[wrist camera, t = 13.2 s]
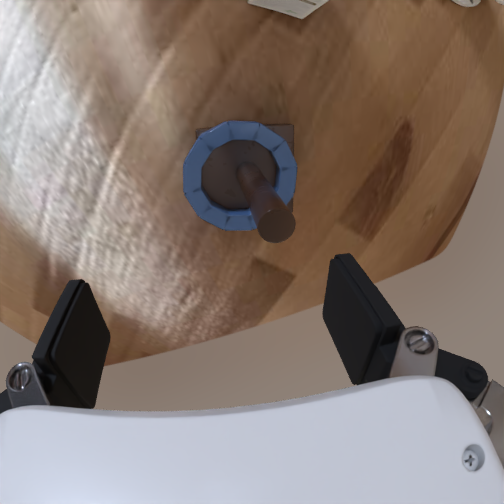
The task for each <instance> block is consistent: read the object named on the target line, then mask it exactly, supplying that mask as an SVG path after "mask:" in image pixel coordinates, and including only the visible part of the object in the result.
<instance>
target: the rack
mask: <svg viewBox="0 0 504 504" xmlns="http://www.w3.org/2000/svg"><path fill="white" fill-rule="evenodd" d="M263 125H264V126H266V127H267V128H269V129H270V130H272V131H273V132H275V133H276V134H278V135H279V136H281V137H282V138H284V140H285V141H286V142H287V144H288V146H289V148H290V150H291V152H292V155H293V157H294V125H292V124H263ZM211 128H213V127H210V128H200V129H196V140H197V138H198V137H199V136H200V135H201V134H202V133H204V132H206V131H208V130H210V129H211ZM275 177H276V164H275V162H274V160H273V158H272V156H271V154H270V152H269V150H268V149H267V148H265V147H263V146H262V145H260V144H259V143H257V142H256V141H254V140H231V141H229V142H227V143H225V144H223V145H221V146H220V147H218V148H216V149H214V150H213V151H212V152H211V154H210V155H209V157H208V159H207V160H206V162H205V163H204V165H203V167H202V176H201V184H202V186H203V188H204V189H205V191H206V192H207V194H208V196H209V197H210V199H211V200H212V201H214V202H215V203H217V204H219V205H221V206H223V207H225V208H227V209H248V208H249V209H250V212H251V214H252V217H253V219H254V222H255V224H256V227H257V229H258V232H259V234H260V236H261V237H262V238H263V239H264V240H265V241H267V242H271V243H280V242H283V241H285V240H286V239H288V238H289V237H290V236H291V235H292V233H293V232H294V229H295V218H294V216H293V215H292V212H293V197H292V198H291V200H290V201H289V202H288V204H287V205H285V203H284V202H283V201H282V199H281V198H280V197H279V195H278V194H277V192H276V191H275V190H274V188H273V186H274V185H275ZM204 221H205V220H204Z"/></svg>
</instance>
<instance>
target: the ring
mask: <svg viewBox="0 0 504 504" xmlns="http://www.w3.org/2000/svg"><path fill="white" fill-rule="evenodd" d="M231 140H254V141H256V142H257V143H259V144H260V145H262V146H263V147H265V148H267V149H268V150H269V152H270V154H271V156H272V158H273V160H274V162H275V164H276V177H275V185H274V186H273V188H274V190H275V191H276V192H277V194H278V195H279V197H280V198H281V199H282V201H283V202H284V203H285V205H287V204H288V202H289V201H290V200H291V198H292V197H293V195H294V194H293V193H295V184H296V176H297V163H296V161H295V159H294V157H293V155H292V152H291V150H290V148H289V146H288V144H287V142H286V141H285V140H284V138H282V137H281V136H279V135H278V134H276V133H275V132H273V131H272V130H270V129H269V128H267V127H266V126H264V125H263V124H261V123H258V122H255V121H228V122H227V121H225V122H223V123H221V124H219V125H217V126H215V127H213V128H211V129H210V130H208V131H206V132H204V133H202V134H201V135H200V136H199V137H198V138H197V140H196V142H195V143H194V145H193V147H192V148H191V150H190V152H189V153H188V155H187V157H186V158H185V161H184V164H183V190H184V193H185V194H184V195H185V196H186V198H187V200H188V201H189V203H190V204H191V206H192V207H193V209H194V211H195V212H196V214H197V215H198V216H200V218H201V219H203V220H205V221H207V222H209V223H211V224H213V225H215V226H217V227H218V228H220V229H222V230H224V228H225V231H228V230H252V229H253V230H254V229H256V228H257V227H256V224H255V222H254V219H253V217H252V214H251V212H250V209H249V208H248V209H227V208H225V207H223V206H221V205H219V204H217V203H215V202H214V201H212V200H211V199H210V197H209V196H208V194H207V192H206V191H205V189H204V188H203V186H202V184H201V176H202V167H203V165H204V163H205V162H206V160H207V159H208V157H209V155H210V154H211V152H212V151H213V150H214V149H216V148H218V147H220V146H221V145H223V144H225V143H227V142H229V141H231Z"/></svg>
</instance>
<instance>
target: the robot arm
mask: <svg viewBox="0 0 504 504" xmlns="http://www.w3.org/2000/svg"><path fill="white" fill-rule="evenodd" d="M452 1H454V2H455V3H457V4H459V5H461V6H465V7H473V6H477V5H478V4H479V3H480V1H481V0H452ZM495 1H497V2H498V3H499V4H501V5H504V0H495ZM323 319H324V322H325V324H326V326H327V328H328V330H329V333H330V335H331V337H332V339H333V341H334V344H335V346H336V348H337V350H338V352H339V354H340V357H341V359H342V362H343V364H344V366H345V368H346V370H347V373H348V375H349V377H350V380H351V382H352V384H354V385H355V384H357V386H353V387H348V388H344V389H340V390H335V391H330V392H326V393H321V394H316V395H311V396H306V397H301V398H295V399H290V400H284V401H277V402H271V403H264V404H256V405H248V406H240V407H230V408H219V409H206V410H190V411H114V410H113V411H112V410H97V409H92V408H94V407H95V403H96V398H97V393H98V388H99V384H100V380H101V375H102V370H103V367H104V362H105V358H106V354H107V350H108V347H109V343H110V332H109V330H108V328H107V326H106V323H105V321H104V319H103V317H102V314H101V312H100V310H99V308H98V305H97V303H96V300H95V298H94V296H93V293H92V291H91V288H90V286H89V284H88V283H85V281H84V280H82V279H80V280H70V281H69V282H68V284H67V285H66V287H65V289H64V291H63V293H62V295H61V296H60V298H59V300H58V302H57V304H56V306H55V308H54V310H53V312H52V314H51V316H50V318H49V320H48V322H47V324H46V326H45V328H44V330H43V333H42V335H41V337H40V339H39V341H38V344H37V346H36V348H35V351H34V353H33V355H32V358H33V359H34V361H33V363H32V364H31V363H29V362H21V363H19V364H17V365H15V366H14V367H13V368H12V369H11V370H10V371H9V373H8V375H7V378H6V387H7V389H6V390H5V391H3V392H2V393H0V504H504V387H503V386H501V385H500V384H498V383H497V382H496V381H494V380H492V381H491V382H489V381H488V376H487V373H486V371H485V369H484V368H483V367H482V366H481V365H480V364H478V363H476V362H475V361H472V360H469V359H466V358H463V357H461V356H458V355H455V354H452V353H450V352H447V351H444V350H441V349H439V348H438V341H437V338H436V337H435V336H434V334H433V333H431V332H430V331H429V330H427V329H425V328H423V327H418V326H414V327H409V328H405V327H404V325H403V324H402V322H401V321H400V319H399V318H398V316H397V315H396V314H395V312H394V311H393V309H392V308H391V306H390V305H389V304H388V303H387V301H386V300H385V298H384V297H383V295H382V294H381V293H380V291H379V290H378V288H377V287H376V286H375V285H374V284H373V283H372V281H371V280H370V279H369V277H368V276H367V274H366V273H365V272H364V270H363V269H362V268H361V267H360V265H359V264H358V263H357V261H356V260H355V259H354V257H353V256H352V255H351V254H350V253H347V254H338V255H335V257H334V259H331V261H330V266H329V273H328V280H327V287H326V293H325V300H324V306H323Z"/></svg>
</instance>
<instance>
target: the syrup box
mask: <svg viewBox="0 0 504 504" xmlns="http://www.w3.org/2000/svg"><path fill="white" fill-rule="evenodd" d="M327 1H329V0H248V1H247V3H249V4H253V5H257V6H260V7H264V8H267V9H271V10H274V11H278V12H281V13H284V14H288V15H291V16H294V17H297V18H300V19H303V18H305V17H306V16H307V15H309V14H310V13H312V12H313V11H314V10H316V9H317V8H319V7H320V6H322V5H323V4H325V3H326V2H327Z"/></svg>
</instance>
